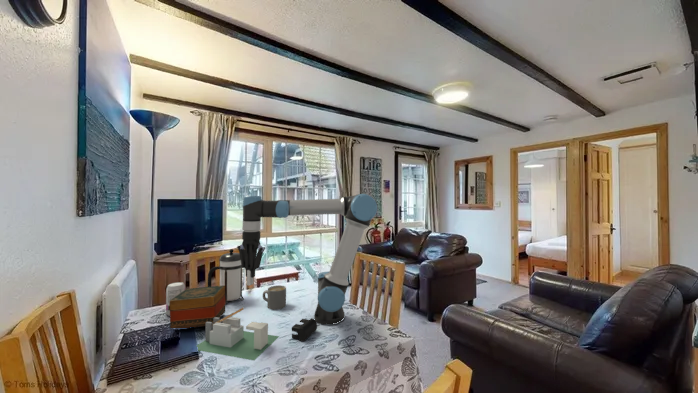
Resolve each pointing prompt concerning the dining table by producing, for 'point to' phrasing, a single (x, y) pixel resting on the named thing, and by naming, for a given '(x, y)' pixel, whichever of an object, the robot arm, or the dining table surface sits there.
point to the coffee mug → (275, 297)
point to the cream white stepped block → (259, 334)
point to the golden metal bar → (228, 316)
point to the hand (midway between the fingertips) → (250, 284)
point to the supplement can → (173, 293)
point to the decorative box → (197, 306)
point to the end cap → (304, 329)
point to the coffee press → (229, 275)
